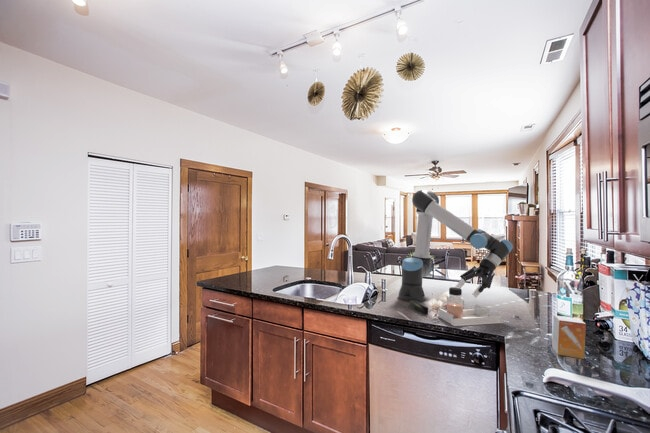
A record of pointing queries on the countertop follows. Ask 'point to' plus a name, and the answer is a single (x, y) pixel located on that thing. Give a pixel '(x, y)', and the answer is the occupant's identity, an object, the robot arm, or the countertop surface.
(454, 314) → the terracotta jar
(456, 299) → the medicine bottle
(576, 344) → the small box
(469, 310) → the white tray
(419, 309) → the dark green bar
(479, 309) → the pusher
